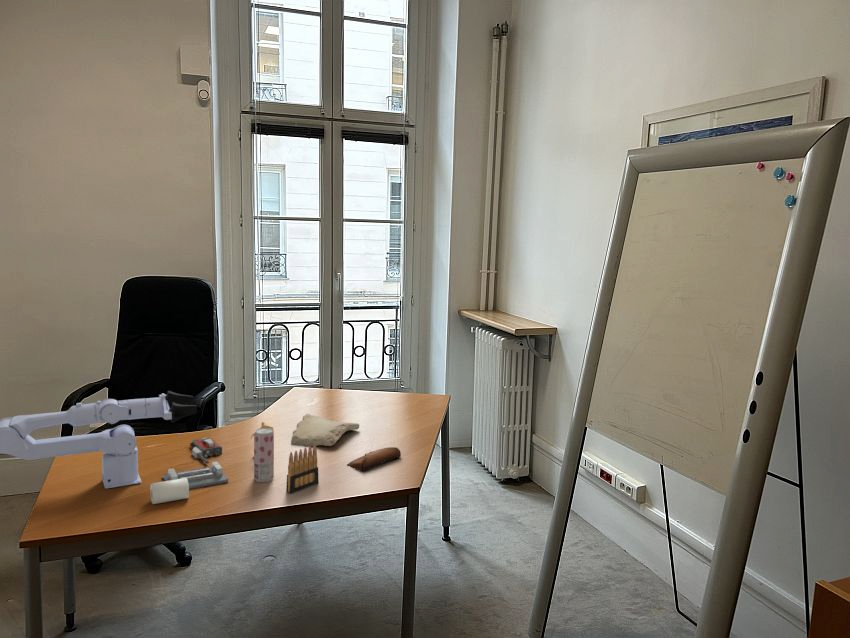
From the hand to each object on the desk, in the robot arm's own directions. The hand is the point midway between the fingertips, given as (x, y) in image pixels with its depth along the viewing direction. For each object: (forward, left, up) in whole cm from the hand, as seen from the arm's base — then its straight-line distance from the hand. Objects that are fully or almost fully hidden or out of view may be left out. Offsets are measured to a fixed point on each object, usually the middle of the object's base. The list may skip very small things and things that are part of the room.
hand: (194, 404), depth 189 cm
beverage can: (+17, -15, -21) cm, 31 cm away
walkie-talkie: (+7, +13, -22) cm, 26 cm away
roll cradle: (-1, -7, -21) cm, 22 cm away
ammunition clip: (+25, -26, -21) cm, 41 cm away
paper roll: (-10, -18, -21) cm, 30 cm away
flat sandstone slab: (+48, +14, -22) cm, 54 cm away
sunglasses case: (+52, -16, -22) cm, 59 cm away
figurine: (+22, +3, -21) cm, 30 cm away
